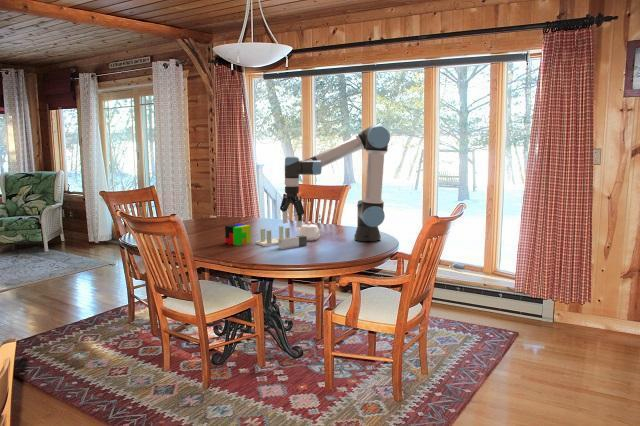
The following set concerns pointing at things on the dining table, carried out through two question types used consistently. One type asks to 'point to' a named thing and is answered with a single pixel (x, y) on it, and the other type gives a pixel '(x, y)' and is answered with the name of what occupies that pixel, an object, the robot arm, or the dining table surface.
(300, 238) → the bar
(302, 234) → the teapot
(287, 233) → the rack
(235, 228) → the puzzle toy
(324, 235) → the dining table surface
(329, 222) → the dining table surface
